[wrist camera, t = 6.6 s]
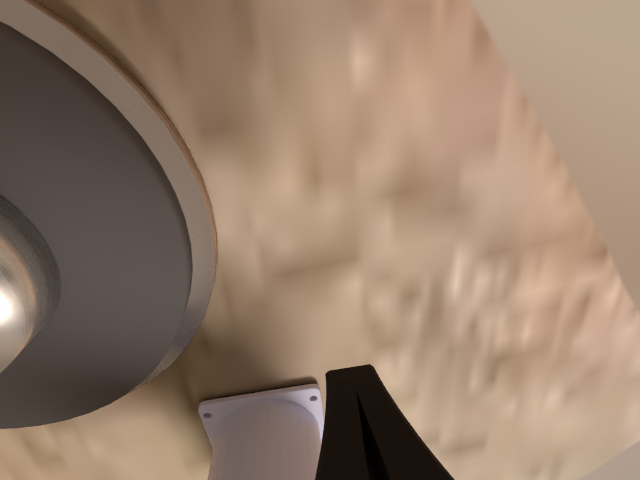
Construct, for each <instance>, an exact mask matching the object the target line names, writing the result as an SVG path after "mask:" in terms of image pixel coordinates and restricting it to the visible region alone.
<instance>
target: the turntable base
mask: <svg viewBox="0 0 640 480" xmlns="http://www.w3.org/2000/svg"><path fill="white" fill-rule="evenodd" d="M0 21H1V22H3V23H5V24H7V25H9V26H11V27H12V28H14V29H16V30H17V31H19V32H20V33H22V34H24V35H25V36H27V37H28V38H30V39H32V40H33V41H35V42H37V43H38V44H40V45H41V46H43V47H45V48H46V49H48V50H49V51H51V52H52V53H53V54H55V55H56V56H57V57H59V58H60V59H61V60H63V61H64V62H65V63H66V64H68V65H69V66H70V67H72V68H73V69H74V70H76V71H77V72H78V73H79V74H81V75H82V76H83V77H85V78H86V79H87V80H88V81H89V82H90V83H91V84H92V85H93V86H94V87H95V88H97V89H98V90H99V91H100V92H101V93H102V94H103V95H104V96H105V97H106V98H107V99H108V100H109V101H110V102H111V103H112V104H114V105H115V106H116V107H117V109H118V110H119V111H120V112H121V113H122V114H123V115H124V117H125V118H126V119H127V120H128V121H129V122H130V124H131V125H132V126H133V127H134V128H135V129H136V131H137V132H138V133H139V134H140V135H141V136H142V138H143V139H144V141H145V142H146V144H147V145H148V147H149V148H150V150H151V151H152V152H153V154H154V155H155V157H156V158H157V160H158V161H159V163H160V164H161V166H162V168H163V170H164V172H165V173H166V175H167V177H168V179H169V181H170V183H171V185H172V187H173V189H174V190H175V192H176V195H177V198H178V200H179V203H180V206H181V208H182V211H183V214H184V216H185V219H186V224H187V228H188V232H189V237H190V241H191V249H192V263H193V272H192V284H191V292H190V295H189V299H188V303H187V307H186V311H185V313H184V316H183V318H182V321H181V324H180V326H179V329H178V331H177V333H176V336H175V338H174V340H173V342H172V345H171V347H170V349H169V350H168V352H167V353H166V355H165V356H164V358H163V359H162V361H161V362H160V364H159V365H158V366H157V367H156V368H155V369H154V370H153V371H152V373H151V374H150V375H149V376H148V377H147V378H146V379H145V380H144V381H143V382H141V383H140V384H139V385H138V386H136V387H135V388H134V389H132V390H131V391H130V392H132V391H134V390H135V389H137V388H139V387H140V386H142V385H144V384H146V383H147V382H149V381H151V380H152V379H154V378H155V377H156V376H157V375H159V374H160V373H161V372H163V371H164V370H165V369H166V368H168V367H169V366H170V365H171V364H172V363H173V362H174V361H175V360H176V359H177V358H178V357H179V356H180V354H181V353H182V352H183V351H184V350H185V348H186V347H187V346H188V344H189V343H190V341H191V340H192V338H193V337H194V336H195V334H196V332H197V330H198V328H199V326H200V324H201V322H202V320H203V318H204V316H205V313H206V309H207V306H208V303H209V299H210V296H211V292H212V289H213V285H214V282H215V276H216V268H217V260H218V251H217V231H216V225H215V220H214V214H213V209H212V205H211V202H210V199H209V196H208V193H207V190H206V187H205V184H204V181H203V178H202V176H201V174H200V172H199V170H198V167H197V165H196V163H195V161H194V159H193V157H192V155H191V153H190V151H189V149H188V147H187V146H186V144H185V142H184V141H183V139H182V138H181V136H180V135H179V133H178V131H177V130H176V128H175V127H174V125H173V124H172V122H171V120H170V119H169V118H168V116H167V115H166V114H165V113H164V111H163V110H162V109H161V108H160V106H159V105H158V104H157V103H156V101H155V100H154V99H153V98H152V96H151V95H150V94H149V93H148V92H147V90H146V89H145V88H144V87H143V86H142V85H141V84H140V83H139V82H138V81H137V80H136V79H135V78H134V77H133V76H132V75H131V74H130V73H129V72H128V71H127V70H126V69H125V68H124V67H123V66H122V65H121V64H120V63H119V62H118V61H117V60H116V59H115V58H114V57H113V56H111V55H110V54H109V53H108V52H107V51H105V50H104V49H103V48H102V47H100V46H99V45H98V44H97V43H96V42H94V41H93V40H92V39H91V38H89V37H88V36H87V35H86V34H85V33H83V32H82V31H81V30H80V29H78V28H77V27H75V26H74V25H72V24H71V23H69V22H67V21H66V20H64V19H63V18H61V17H60V16H58V15H57V14H55V13H54V12H52V11H51V10H49V9H48V8H46V7H45V6H43V5H42V4H40V3H39V2H37V1H35V0H0Z"/></svg>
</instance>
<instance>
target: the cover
mask: <svg viewBox="0 0 640 480" xmlns="http://www.w3.org/2000/svg"><path fill="white" fill-rule="evenodd" d="M60 291H61V281H60V273H59V269H58V265H57V262H56V260H55V257H54V255H53V253H52V250H51V249H50V247H49V245H48V244H47V242H46V240H45V238H44V237H43V236H42V234H41V233H40V232H39V230H38V229H37V228H36V227H35V225H34V224H33V223H32V222H31V221H30V220H29V219H28V218H27V217H26V216H25V215H24V214H23V213H22V212H21V211H20V210H19V209H18V208H17V207H15V206H14V205H13V204H12V203H11V202H10V201H8V200H7V199H6V198H4V197H3V196H1V195H0V373H1V372H2V371H3V370H4V369H5V368H6V367H8V366H9V364H10V363H11V362H12V361H13V360H14V359H15V358H16V357H17V356H18V355H19V353H20V352H21V351H22V350H23V349H24V348H25V347H26V346H27V345H28V343H29V342H30V341H31V340H32V339H33V338H34V337H35V336H36V335H37V334H38V332H39V331H40V330H41V329H42V328H43V327H44V326H45V325H46V324H47V322H48V321H49V320H50V318H51V317H52V316H53V314H54V312H55V310H56V308H57V305H58V302H59V299H60Z"/></svg>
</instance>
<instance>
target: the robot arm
mask: <svg viewBox="0 0 640 480" xmlns="http://www.w3.org/2000/svg"><path fill="white" fill-rule="evenodd" d="M325 375H326V391H327V392H326V411H325V421H324V416H323V409H322V402H321V394H320V388H319V386H318V385H317V384H307V385H301V386H294V387H288V388H282V389H275V390H269V391H263V392H256V393H250V394H244V395H238V396H231V397H225V398H219V399H212V400H206V401H202V402H201V403H200V404H199V406H198V412H199V415H200V418H201V420H202V423H203V425H204V428H205V430H206V433H207V436H208V438H209V441H210V443H211V446H212V449H213V452H212V458H211V464H210V470H209V475H208V480H454V478H453V477H452V476H451V475H450V474H449V473H448V471H447V470H446V469H445V468H444V467H443V466H442V464H441V463H440V462H439V461H438V459H437V458H436V457H435V456H434V455H433V453H432V452H431V451H430V450H429V448H428V447H427V446H426V445H425V443H424V442H423V441H422V439H421V438H420V437H419V436H418V434H417V433H416V431H415V430H414V429H413V427H412V426H411V425H410V423H409V422H408V421H407V419H406V418H405V416H404V415H403V414H402V412H401V411H400V409H399V408H398V406H397V405H396V403H395V402H394V400H393V399H392V397H391V396H390V394H389V393H388V391H387V390H386V388H385V386H384V385H383V383H382V381H381V380H380V378H379V376H378V374H377V372H376V370H375V368H374V367H373V366H372V365H370V364H369V365H362V366H356V367H350V368H343V369H337V370H331V371H328V372H327V373H326V374H325Z"/></svg>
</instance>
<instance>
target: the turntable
mask: <svg viewBox="0 0 640 480" xmlns="http://www.w3.org/2000/svg"><path fill="white" fill-rule="evenodd" d="M0 195H1V196H3V197H4V198H6V199H7V200H8V201H10V202H11V203H12V204H13V205H14V206H15V207H17V208H18V209H19V210H20V211H21V212H22V213H23V214H24V215H25V216H26V217H27V218H28V219H29V220H30V221H31V222H32V223H33V224H34V225H35V227H36V228H37V229H38V230H39V232H40V233H41V234H42V236H43V237H44V238H45V240H46V242H47V244H48V245H49V247H50V249H51V250H52V253H53V255H54V257H55V260H56V262H57V265H58V269H59V273H60V281H61V291H60V299H59V302H58V305H57V308H56V310H55V312H54V314H53V316H52V317H51V318H50V320H49V321H48V322H47V324H46V325H45V326H44V327H43V328H42V329H41V330H40V331H39V332H38V334H37V335H36V336H35V337H34V338H33V339H32V340H31V341H30V342H29V343H28V345H27V346H26V347H25V348H24V349H23V350H22V351H21V352H20V353H19V355H18V356H17V357H16V358H15V359H14V360H13V361H12V362H11V363H10V364H9V366H8V367H6V368H5V369H4V370H3V371H2V372H1V373H0V429H8V428H22V427H31V426H39V425H45V424H50V423H55V422H60V421H64V420H68V419H71V418H74V417H78V416H81V415H84V414H87V413H90V412H92V411H95V410H97V409H99V408H101V407H104V406H106V405H108V404H110V403H112V402H114V401H115V400H117V399H119V398H120V397H122V396H124V395H126V394H127V393H129V392H130V391H131V390H132V389H134V388H135V387H136V386H138V385H139V384H140V383H141V382H143V381H144V380H145V379H146V378H147V377H148V376H149V375H150V374H151V373H152V371H153V370H154V369H155V368H156V367H157V366H158V365H159V364H160V362H161V361H162V359H163V358H164V356H165V355H166V353H167V352H168V350H169V349H170V347H171V345H172V342H173V340H174V338H175V336H176V333H177V331H178V329H179V326H180V324H181V321H182V318H183V316H184V313H185V311H186V307H187V303H188V299H189V295H190V292H191V284H192V272H193V263H192V249H191V241H190V237H189V232H188V228H187V224H186V219H185V216H184V214H183V211H182V208H181V206H180V203H179V200H178V198H177V195H176V192H175V190H174V189H173V187H172V185H171V183H170V181H169V179H168V177H167V175H166V173H165V172H164V170H163V168H162V166H161V164H160V163H159V161H158V160H157V158H156V157H155V155H154V154H153V152H152V151H151V150H150V148H149V147H148V145H147V144H146V142H145V141H144V139H143V138H142V136H141V135H140V134H139V133H138V132H137V131H136V129H135V128H134V127H133V126H132V125H131V124H130V122H129V121H128V120H127V119H126V118H125V117H124V115H123V114H122V113H121V112H120V111H119V110H118V109H117V107H116V106H115V105H114V104H112V103H111V102H110V101H109V100H108V99H107V98H106V97H105V96H104V95H103V94H102V93H101V92H100V91H99V90H98V89H97V88H95V87H94V86H93V85H92V84H91V83H90V82H89V81H88V80H87V79H86V78H85V77H83V76H82V75H81V74H79V73H78V72H77V71H76V70H74V69H73V68H72V67H70V66H69V65H68V64H66V63H65V62H64V61H63V60H61V59H60V58H59V57H57V56H56V55H55V54H53V53H52V52H51V51H49V50H48V49H46V48H45V47H43V46H41V45H40V44H38V43H37V42H35V41H33V40H32V39H30V38H28V37H27V36H25V35H24V34H22V33H20V32H19V31H17V30H16V29H14V28H12V27H11V26H9V25H7V24H5V23H3V22H1V21H0Z"/></svg>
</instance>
